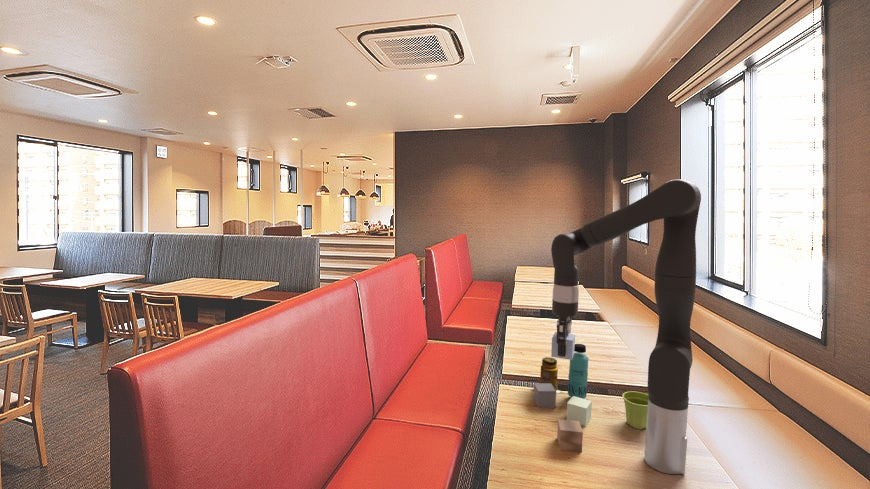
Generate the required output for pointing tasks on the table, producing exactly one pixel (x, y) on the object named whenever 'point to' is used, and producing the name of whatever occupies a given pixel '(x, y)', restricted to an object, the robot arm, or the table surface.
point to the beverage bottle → (578, 373)
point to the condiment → (549, 372)
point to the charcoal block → (544, 395)
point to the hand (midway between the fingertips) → (563, 352)
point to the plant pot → (636, 408)
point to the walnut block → (569, 435)
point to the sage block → (579, 410)
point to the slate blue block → (569, 347)
